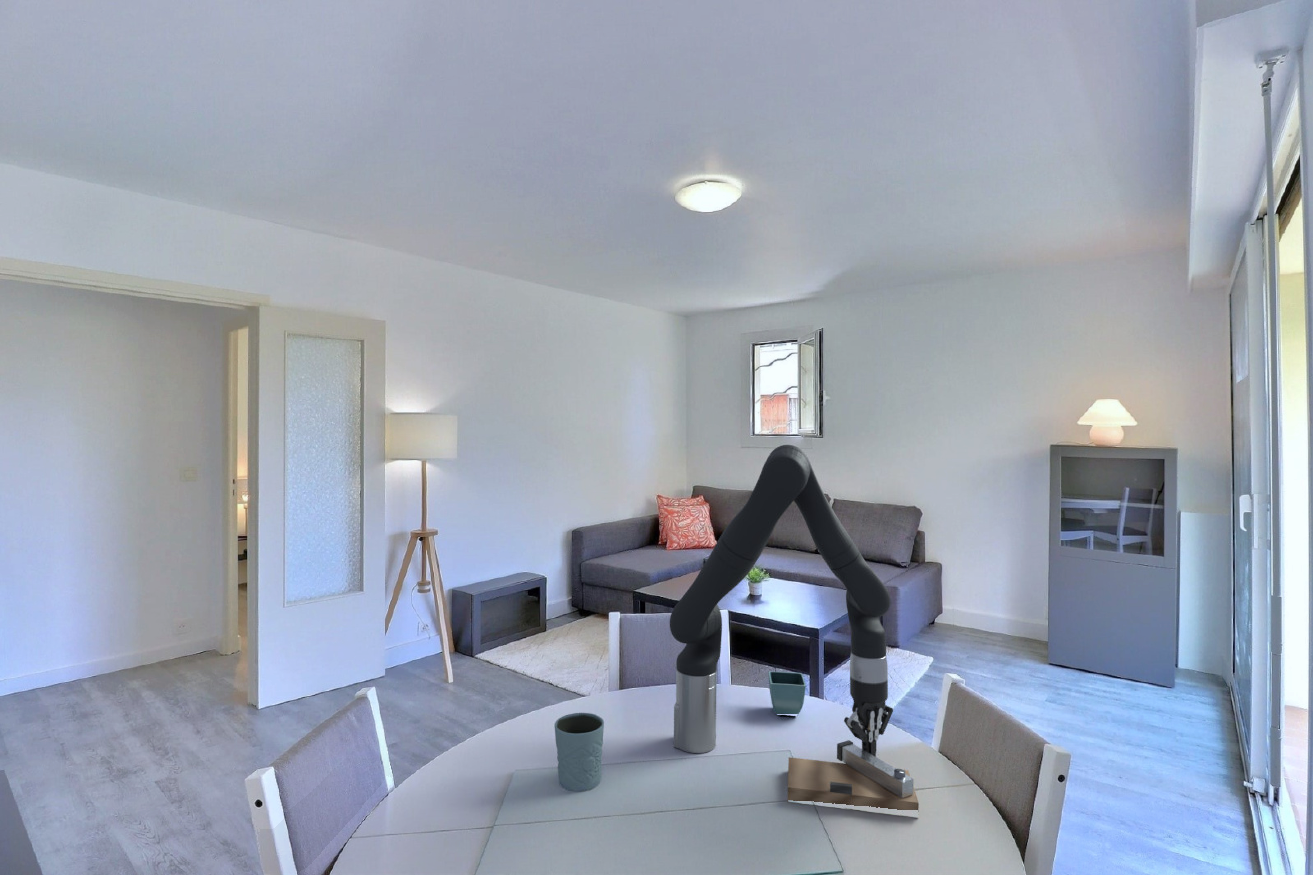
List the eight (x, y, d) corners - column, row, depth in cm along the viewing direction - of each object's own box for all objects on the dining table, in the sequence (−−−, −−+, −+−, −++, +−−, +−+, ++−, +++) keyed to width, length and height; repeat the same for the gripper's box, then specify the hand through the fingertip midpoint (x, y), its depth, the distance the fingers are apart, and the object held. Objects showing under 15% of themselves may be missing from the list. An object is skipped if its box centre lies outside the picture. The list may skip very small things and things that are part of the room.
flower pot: (801, 706, 175) (802, 672, 175) (805, 721, 167) (806, 685, 166) (767, 704, 176) (768, 670, 176) (769, 719, 168) (770, 683, 167)
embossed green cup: (595, 796, 132) (595, 736, 132) (546, 790, 134) (547, 731, 134) (609, 770, 142) (609, 714, 142) (563, 765, 144) (564, 709, 144)
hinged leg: (913, 794, 128) (914, 774, 128) (901, 798, 127) (901, 778, 127) (848, 755, 143) (849, 737, 143) (836, 758, 142) (837, 740, 141)
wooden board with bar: (787, 802, 131) (787, 779, 131) (788, 771, 142) (788, 750, 142) (918, 818, 126) (918, 794, 126) (908, 785, 137) (908, 763, 137)
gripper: (861, 687, 133) (862, 774, 134) (904, 673, 140) (905, 755, 141) (832, 676, 140) (833, 758, 140) (875, 662, 147) (875, 741, 147)
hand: (869, 756), depth 140 cm, fingers closed
